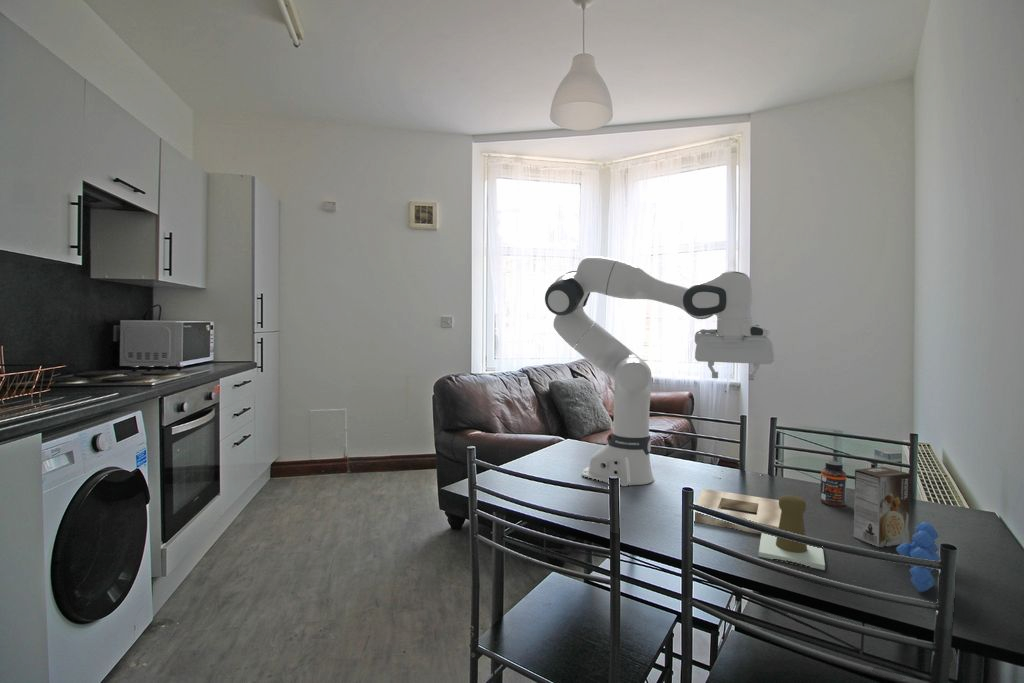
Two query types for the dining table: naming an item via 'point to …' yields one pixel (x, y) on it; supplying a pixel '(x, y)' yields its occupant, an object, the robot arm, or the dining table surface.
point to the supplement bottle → (833, 484)
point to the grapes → (921, 554)
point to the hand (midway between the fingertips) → (733, 379)
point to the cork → (791, 522)
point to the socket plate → (763, 507)
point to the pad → (791, 553)
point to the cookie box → (882, 506)
